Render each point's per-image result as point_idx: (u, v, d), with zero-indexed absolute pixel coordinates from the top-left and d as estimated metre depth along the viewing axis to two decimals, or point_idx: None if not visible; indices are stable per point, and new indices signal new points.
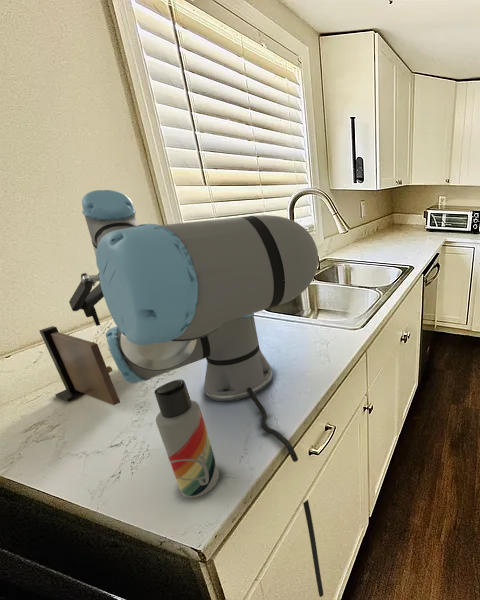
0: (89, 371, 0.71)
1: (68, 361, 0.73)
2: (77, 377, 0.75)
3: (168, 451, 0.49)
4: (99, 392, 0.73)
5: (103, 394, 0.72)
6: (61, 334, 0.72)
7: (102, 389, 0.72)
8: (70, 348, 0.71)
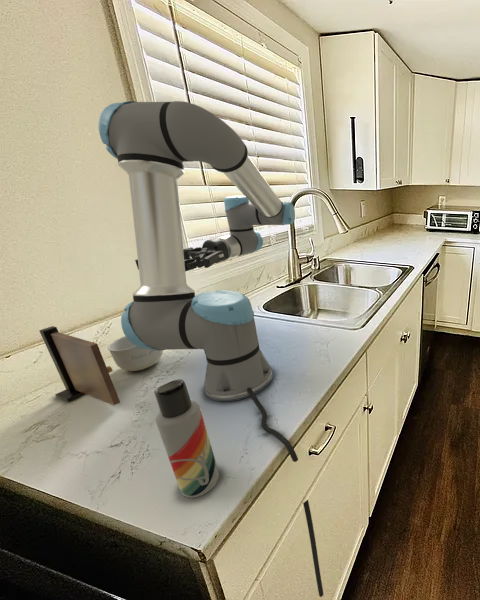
0: (89, 371, 0.71)
1: (68, 361, 0.73)
2: (77, 377, 0.75)
3: (168, 451, 0.49)
4: (99, 392, 0.73)
5: (103, 394, 0.72)
6: (61, 334, 0.72)
7: (102, 389, 0.72)
8: (70, 348, 0.71)
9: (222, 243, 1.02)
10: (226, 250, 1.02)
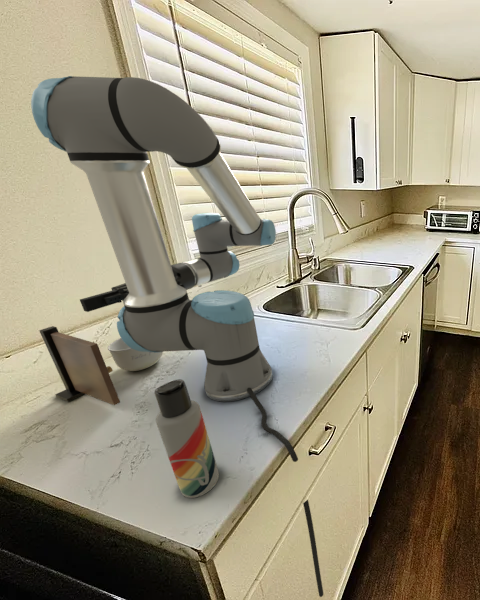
0: (89, 371, 0.71)
1: (68, 361, 0.73)
2: (77, 377, 0.75)
3: (168, 451, 0.49)
4: (99, 392, 0.73)
5: (103, 394, 0.72)
6: (61, 334, 0.72)
7: (102, 389, 0.72)
8: (70, 348, 0.71)
9: (187, 269, 0.88)
10: (191, 277, 0.88)
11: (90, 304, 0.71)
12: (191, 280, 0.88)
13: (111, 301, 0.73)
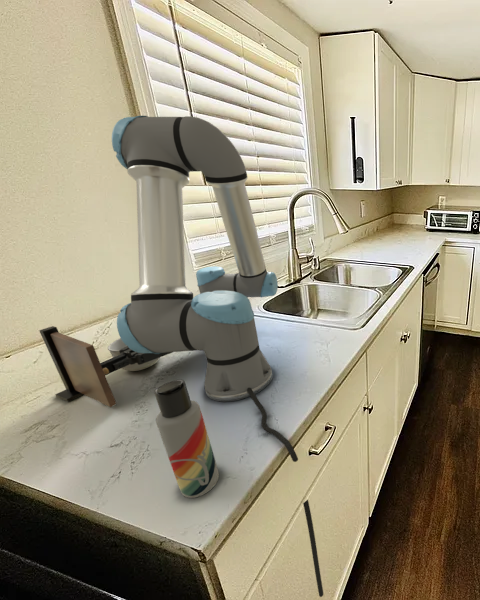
0: (86, 372, 0.71)
1: (67, 361, 0.73)
2: (76, 377, 0.74)
3: (168, 451, 0.49)
4: (96, 393, 0.72)
5: (100, 396, 0.72)
6: (60, 334, 0.72)
7: (99, 391, 0.71)
8: (68, 348, 0.70)
9: None
10: None
11: None
12: None
13: (119, 366, 0.76)
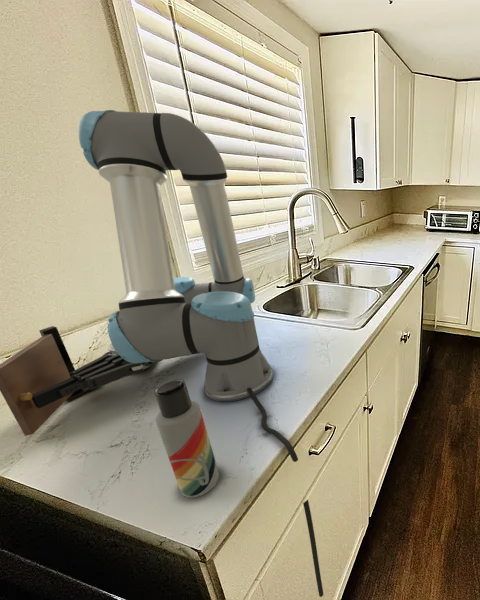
0: None
1: None
2: None
3: (168, 451, 0.49)
4: None
5: None
6: (41, 339, 0.70)
7: None
8: None
9: None
10: None
11: (42, 399, 0.65)
12: None
13: (67, 393, 0.68)
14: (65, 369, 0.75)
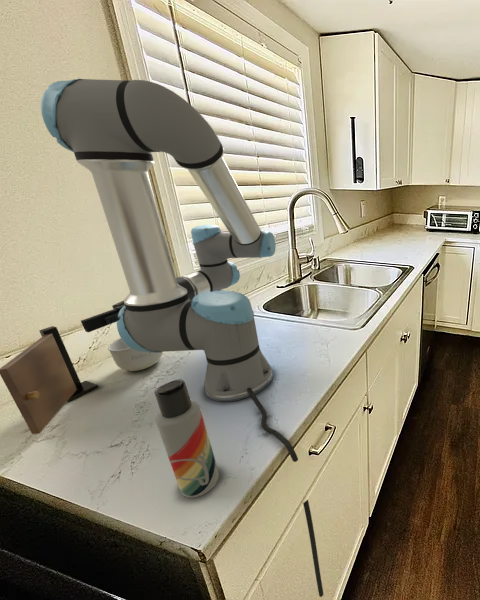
0: None
1: None
2: None
3: (168, 451, 0.49)
4: None
5: None
6: (42, 339, 0.70)
7: None
8: None
9: (186, 284, 0.88)
10: (191, 291, 0.89)
11: (90, 325, 0.72)
12: (191, 295, 0.89)
13: (111, 321, 0.75)
14: (66, 369, 0.75)
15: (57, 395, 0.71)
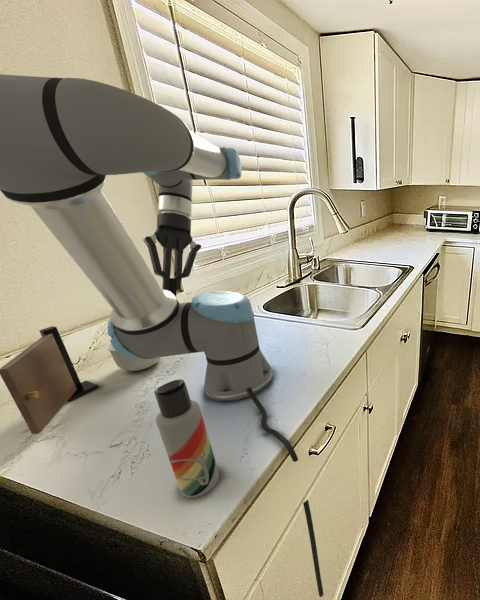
0: None
1: None
2: None
3: (168, 451, 0.49)
4: None
5: None
6: (42, 339, 0.70)
7: None
8: None
9: (189, 221, 0.88)
10: None
11: None
12: None
13: None
14: (66, 369, 0.75)
15: (57, 395, 0.71)
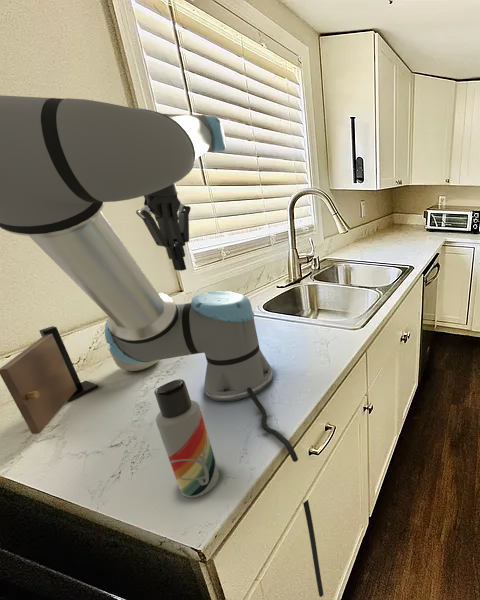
0: None
1: None
2: None
3: (168, 451, 0.49)
4: None
5: None
6: (42, 339, 0.70)
7: None
8: None
9: (175, 184, 0.84)
10: None
11: None
12: None
13: None
14: (66, 369, 0.75)
15: (57, 395, 0.71)
